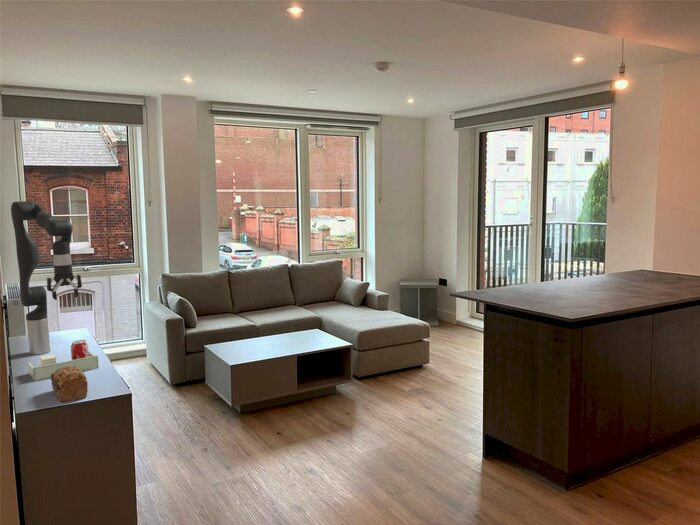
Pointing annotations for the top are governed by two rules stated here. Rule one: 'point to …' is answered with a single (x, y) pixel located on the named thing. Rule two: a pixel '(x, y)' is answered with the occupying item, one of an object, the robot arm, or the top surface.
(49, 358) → the cream rectangular block
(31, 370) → the u-shaped bracket
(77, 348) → the soda can
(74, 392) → the bread
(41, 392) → the top surface
